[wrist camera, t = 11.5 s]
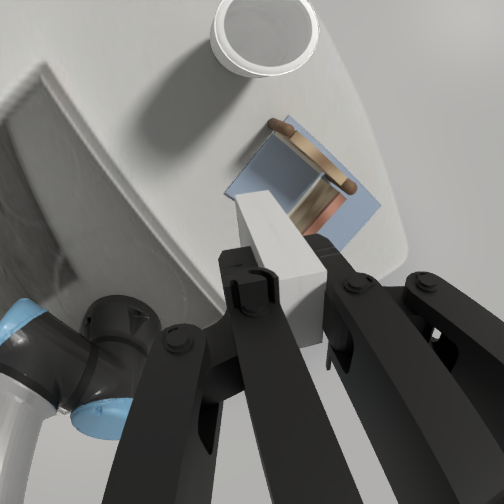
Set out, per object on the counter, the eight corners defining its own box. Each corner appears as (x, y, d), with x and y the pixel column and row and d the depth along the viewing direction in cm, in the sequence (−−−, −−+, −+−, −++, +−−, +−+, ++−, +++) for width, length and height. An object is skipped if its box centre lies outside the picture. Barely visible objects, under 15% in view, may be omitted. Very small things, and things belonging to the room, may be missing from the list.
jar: (273, 85, 40) (311, 85, 27) (200, 75, 38) (205, 67, 25) (284, 20, 35) (327, -6, 22) (212, 7, 33) (224, -29, 20)
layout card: (224, 192, 47) (225, 192, 46) (288, 115, 43) (289, 115, 42) (326, 265, 57) (327, 266, 57) (380, 204, 53) (381, 205, 53)
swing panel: (322, 178, 48) (341, 193, 42) (328, 184, 49) (347, 199, 43) (273, 233, 51) (285, 254, 45) (280, 238, 52) (293, 259, 46)
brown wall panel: (264, 125, 43) (278, 132, 36) (273, 115, 42) (288, 120, 36) (330, 182, 49) (351, 197, 43) (337, 173, 49) (360, 187, 42)
